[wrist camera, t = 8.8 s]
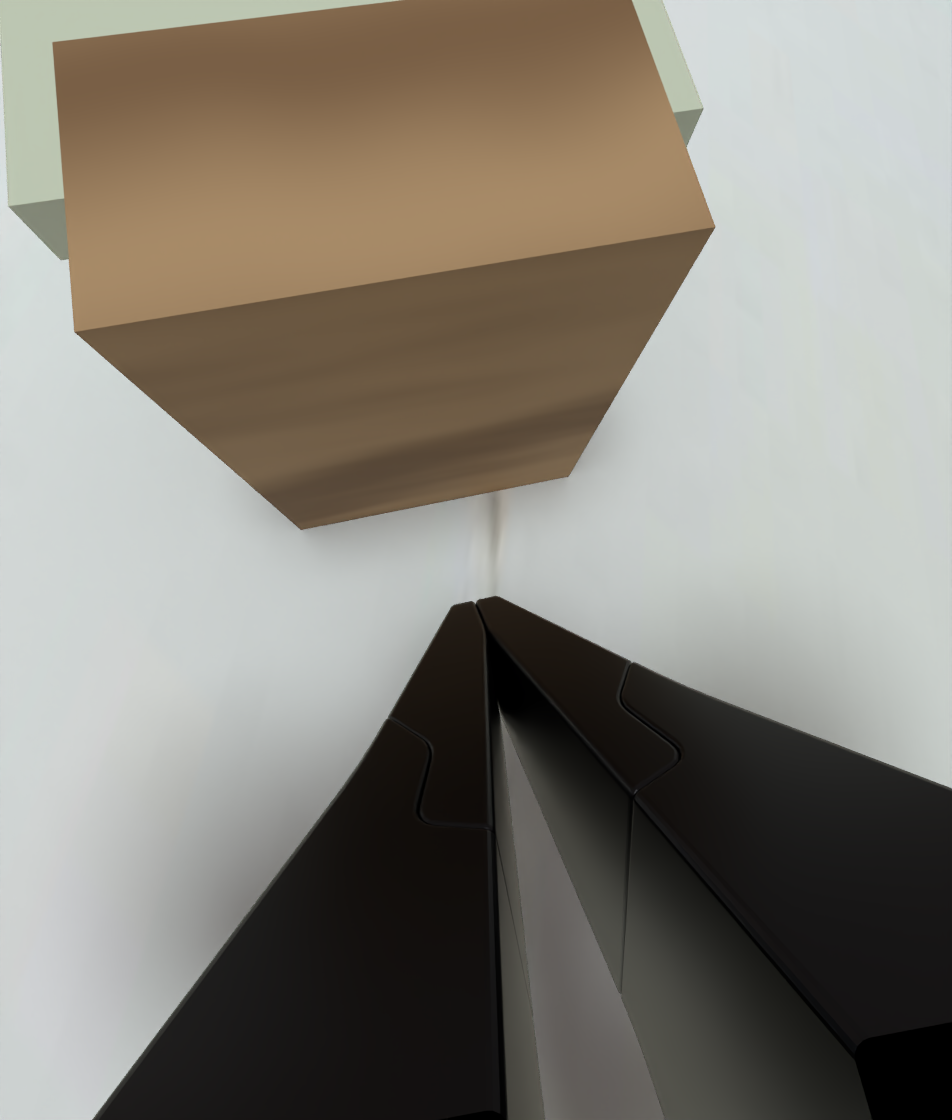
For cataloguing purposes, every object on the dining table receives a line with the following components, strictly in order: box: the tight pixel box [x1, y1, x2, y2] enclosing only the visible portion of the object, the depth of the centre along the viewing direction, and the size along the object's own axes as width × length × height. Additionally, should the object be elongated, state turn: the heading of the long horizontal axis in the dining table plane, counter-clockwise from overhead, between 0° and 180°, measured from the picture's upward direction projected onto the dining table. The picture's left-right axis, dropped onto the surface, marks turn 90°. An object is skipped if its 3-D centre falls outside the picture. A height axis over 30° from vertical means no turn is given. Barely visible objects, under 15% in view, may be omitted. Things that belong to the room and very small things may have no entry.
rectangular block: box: [52, 0, 715, 530], centre depth 13 cm, size 13×9×10 cm
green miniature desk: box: [0, 0, 703, 260], centre depth 16 cm, size 9×16×6 cm, turn 102°
